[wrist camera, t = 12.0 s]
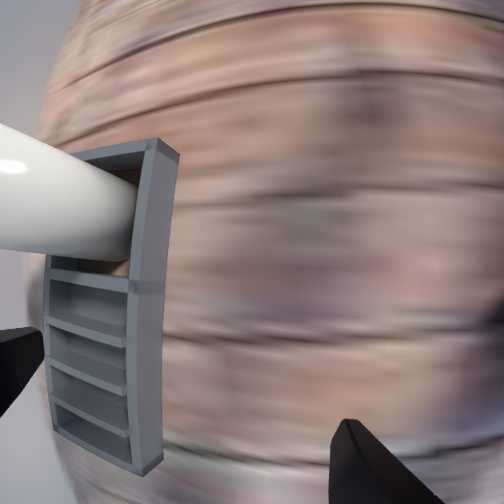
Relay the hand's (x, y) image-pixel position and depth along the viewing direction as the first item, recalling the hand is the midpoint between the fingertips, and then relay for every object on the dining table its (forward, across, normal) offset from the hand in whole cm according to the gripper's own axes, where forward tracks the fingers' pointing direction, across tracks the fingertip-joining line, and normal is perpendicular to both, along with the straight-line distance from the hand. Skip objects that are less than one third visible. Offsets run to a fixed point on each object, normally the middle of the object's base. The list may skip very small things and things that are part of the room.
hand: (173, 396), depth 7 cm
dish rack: (+12, +9, +5) cm, 16 cm away
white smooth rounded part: (+14, +10, -1) cm, 17 cm away
